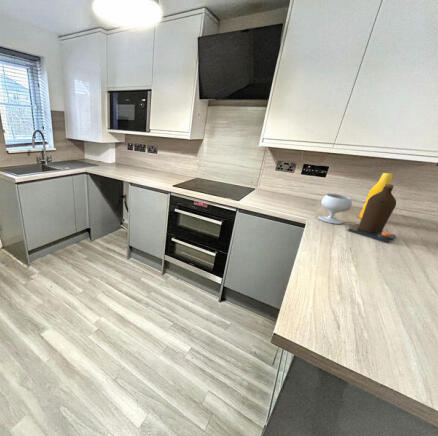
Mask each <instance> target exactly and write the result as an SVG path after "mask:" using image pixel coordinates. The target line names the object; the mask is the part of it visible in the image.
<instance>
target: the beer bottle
mask: <svg viewBox="0 0 438 436" xmlns="http://www.w3.org/2000/svg"><path fill="white" fill-rule="evenodd" d="M393 175H394V174H393V173H391V172H383V173H382V174H381V176H380V178H379V180H378V181H377V182H376V183H375V184H374V185H373V186H372V187H371V188H370V190H369V192H368V194H367V197H366V199H365V201H364V204H363V206H362V208H361V211H360V213H359V216H358V217H359V219H360V220H361V219H362V216H363V213H364V210H365V208H366V205H367V202H368V200H369V198H370V197H371V196H373V195H375V194H377V193H379V192H381V191H382V190H383V188H384V187H385V184H391V183H392V180H393Z"/></svg>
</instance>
